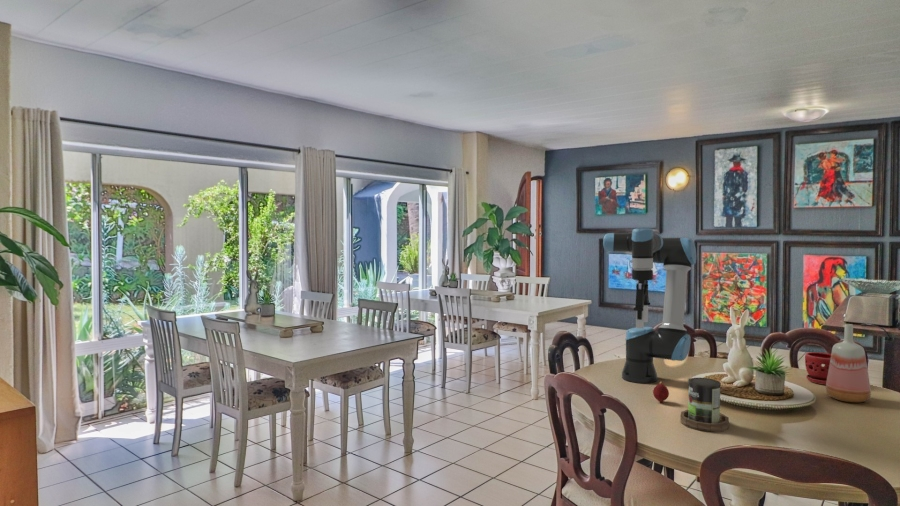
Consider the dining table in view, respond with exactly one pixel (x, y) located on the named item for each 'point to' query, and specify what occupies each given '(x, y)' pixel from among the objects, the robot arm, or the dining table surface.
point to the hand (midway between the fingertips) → (642, 325)
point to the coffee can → (704, 400)
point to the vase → (848, 371)
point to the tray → (705, 426)
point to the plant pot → (817, 367)
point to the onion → (661, 392)
